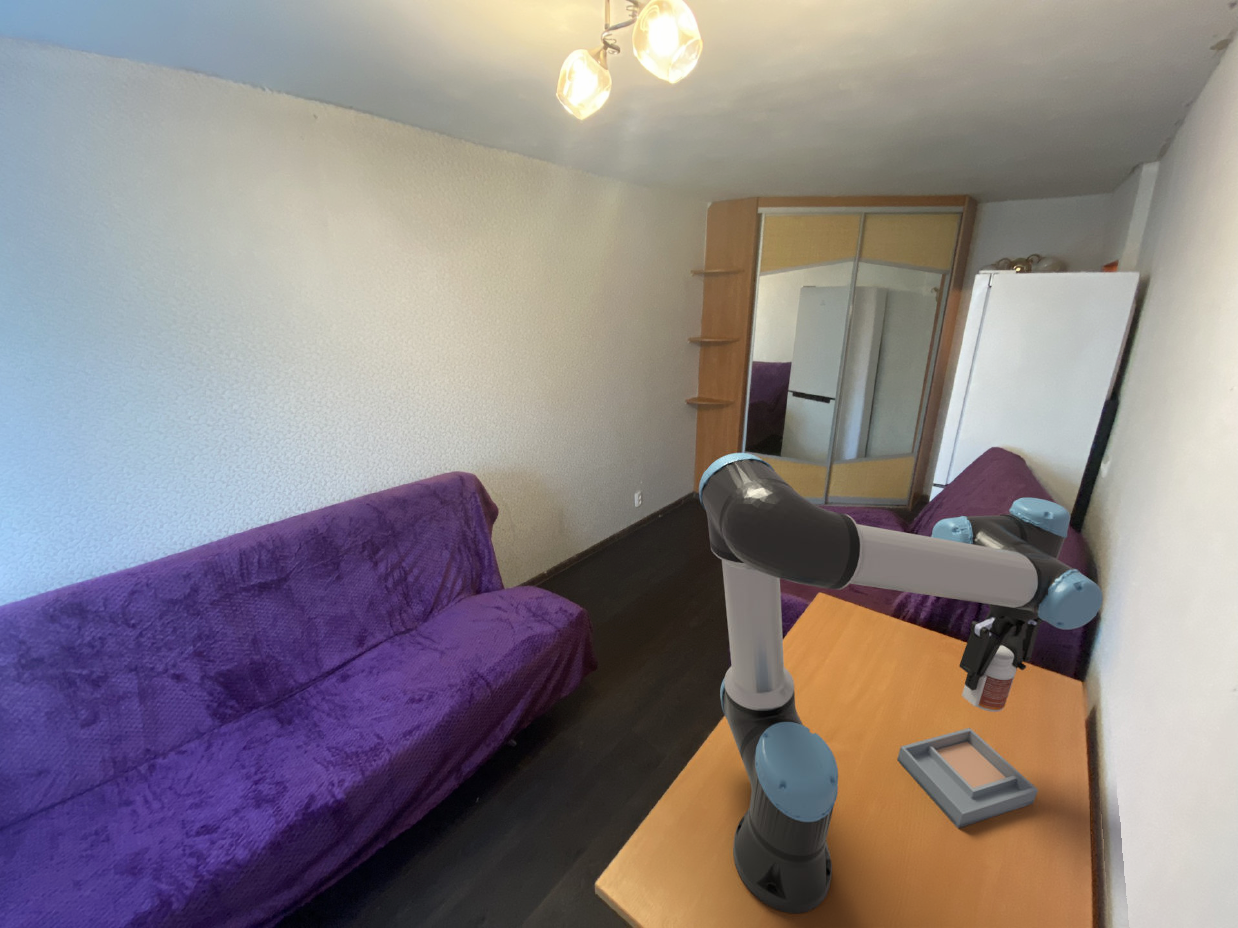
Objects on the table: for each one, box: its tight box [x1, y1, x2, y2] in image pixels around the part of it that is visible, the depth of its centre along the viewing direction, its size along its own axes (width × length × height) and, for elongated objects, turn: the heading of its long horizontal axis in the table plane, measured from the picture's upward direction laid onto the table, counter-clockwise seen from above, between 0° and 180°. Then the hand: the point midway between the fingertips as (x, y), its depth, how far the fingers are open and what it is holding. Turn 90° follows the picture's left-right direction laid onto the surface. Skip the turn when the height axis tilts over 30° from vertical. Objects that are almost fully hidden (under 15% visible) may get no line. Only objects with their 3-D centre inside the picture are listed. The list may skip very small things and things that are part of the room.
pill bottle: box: [976, 645, 1015, 713], centre depth 94 cm, size 6×6×11 cm
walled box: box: [896, 727, 1039, 829], centre depth 98 cm, size 17×14×4 cm
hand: (984, 696), depth 96 cm, fingers closed on pill bottle, 6 cm apart
